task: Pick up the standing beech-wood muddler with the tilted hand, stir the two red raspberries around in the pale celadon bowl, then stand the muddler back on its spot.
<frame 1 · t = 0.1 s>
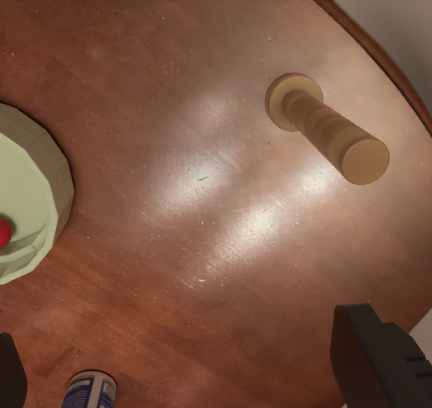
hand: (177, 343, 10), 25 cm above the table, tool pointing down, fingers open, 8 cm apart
muddler: (291, 100, 33), on the table
pill bottle: (93, 384, 45), on the table
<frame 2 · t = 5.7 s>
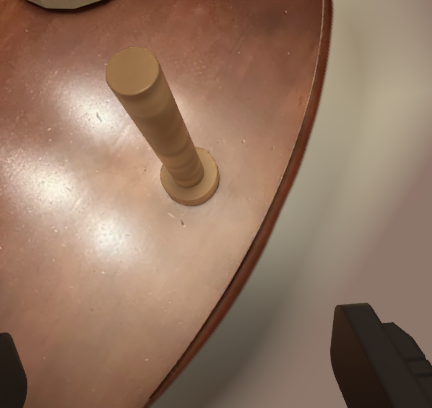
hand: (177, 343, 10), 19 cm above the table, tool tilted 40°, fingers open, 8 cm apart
muddler: (191, 179, 31), on the table
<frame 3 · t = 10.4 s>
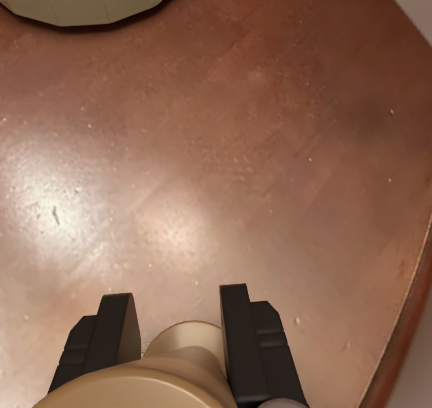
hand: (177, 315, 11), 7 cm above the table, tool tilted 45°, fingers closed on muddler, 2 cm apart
muddler: (194, 374, 17), on the table, touching gripper
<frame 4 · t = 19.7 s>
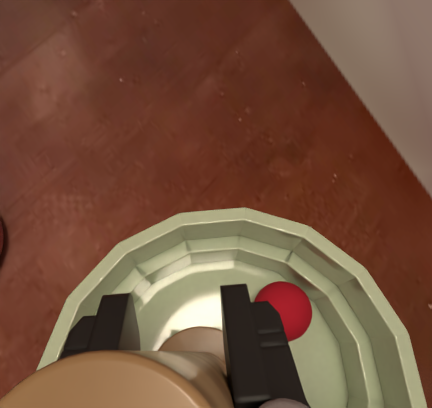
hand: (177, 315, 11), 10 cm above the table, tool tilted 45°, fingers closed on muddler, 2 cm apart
bowl: (224, 380, 20), on the table
muddler: (203, 381, 17), point 3 cm above the table, touching gripper, raspberry a
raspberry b: (282, 311, 19), point 2 cm above the table, touching bowl
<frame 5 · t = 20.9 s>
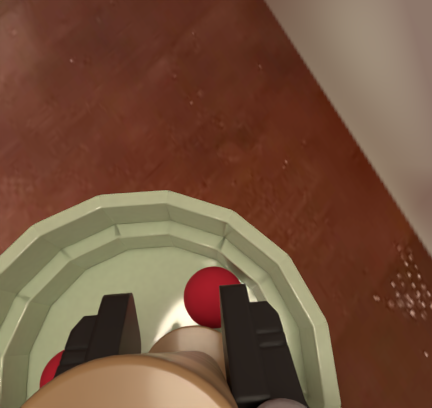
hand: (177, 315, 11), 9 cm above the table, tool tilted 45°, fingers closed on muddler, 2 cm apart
bowl: (156, 369, 19), on the table
raspberry a: (74, 380, 17), point 2 cm above the table, tilted 41°, touching bowl
muddler: (195, 380, 17), point 2 cm above the table, touching gripper
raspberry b: (213, 296, 18), point 2 cm above the table, touching bowl
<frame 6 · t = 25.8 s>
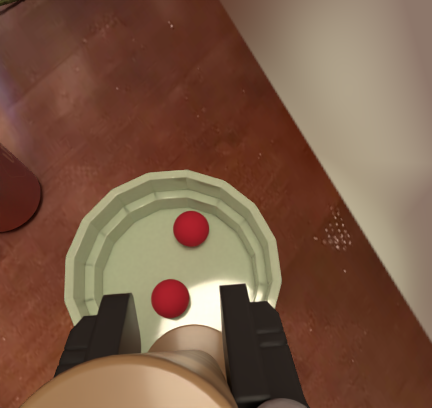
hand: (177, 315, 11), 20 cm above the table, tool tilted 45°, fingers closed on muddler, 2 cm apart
beverage can: (9, 200, 33), on the table
bowl: (179, 280, 31), on the table
raspberry a: (170, 298, 29), point 2 cm above the table, tilted 135°, touching bowl
muddler: (194, 378, 17), point 13 cm above the table, touching gripper
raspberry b: (191, 228, 31), point 2 cm above the table, tilted 14°, touching bowl
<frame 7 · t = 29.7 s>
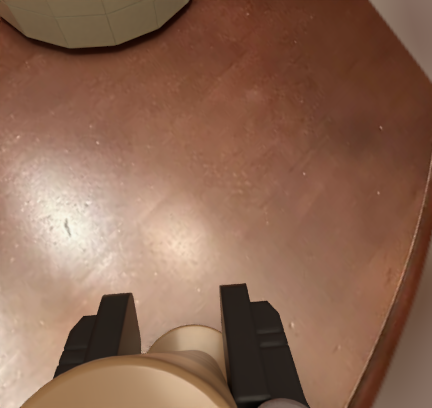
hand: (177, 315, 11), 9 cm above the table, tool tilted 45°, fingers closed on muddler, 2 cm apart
muddler: (194, 379, 17), point 2 cm above the table, touching gripper
when the fingers open (7 cm above the table, at t = 30.5 s): muddler stays where it is, on the table.
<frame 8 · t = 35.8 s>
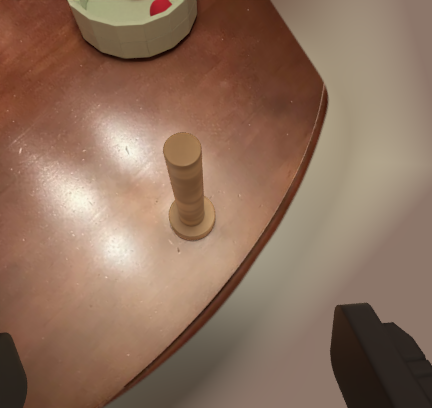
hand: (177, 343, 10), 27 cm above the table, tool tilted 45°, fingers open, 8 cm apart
bowl: (137, 12, 47), on the table
raspberry a: (162, 11, 45), point 2 cm above the table, tilted 72°, touching bowl
muddler: (192, 218, 39), on the table
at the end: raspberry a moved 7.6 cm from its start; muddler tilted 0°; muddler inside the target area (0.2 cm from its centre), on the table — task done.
